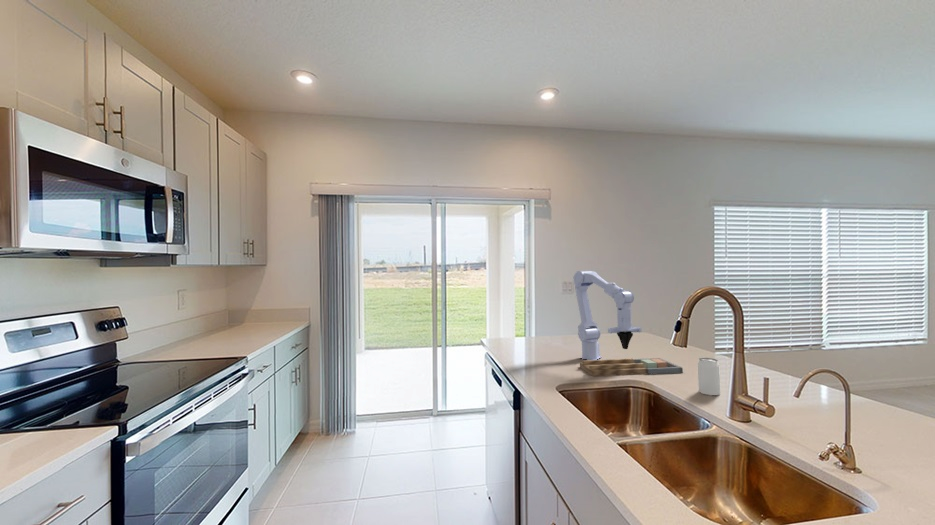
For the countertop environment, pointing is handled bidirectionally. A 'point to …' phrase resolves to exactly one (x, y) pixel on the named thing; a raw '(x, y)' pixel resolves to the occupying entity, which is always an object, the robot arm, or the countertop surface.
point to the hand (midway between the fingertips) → (625, 348)
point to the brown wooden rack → (613, 367)
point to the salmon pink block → (660, 363)
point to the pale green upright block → (649, 363)
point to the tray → (669, 369)
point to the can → (708, 376)
